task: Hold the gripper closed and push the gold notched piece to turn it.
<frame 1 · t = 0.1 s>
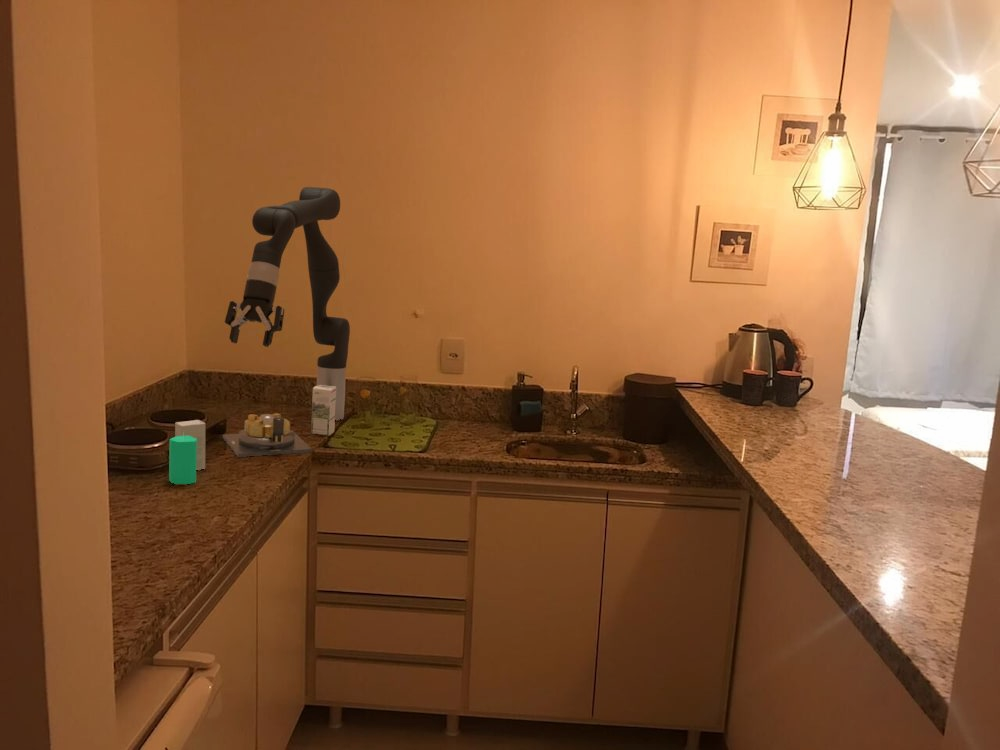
hand: (249, 344, 194), 31 cm above the worktop, tool tilted 20°, fingers open, 8 cm apart
gold notched piece: (270, 423, 214), point 7 cm above the worktop, hinge at 0.0°
syrup box: (322, 433, 236), on the worktop
bearing housing: (266, 445, 218), on the worktop
skincare box: (189, 470, 192), on the worktop
candle: (182, 482, 183), on the worktop
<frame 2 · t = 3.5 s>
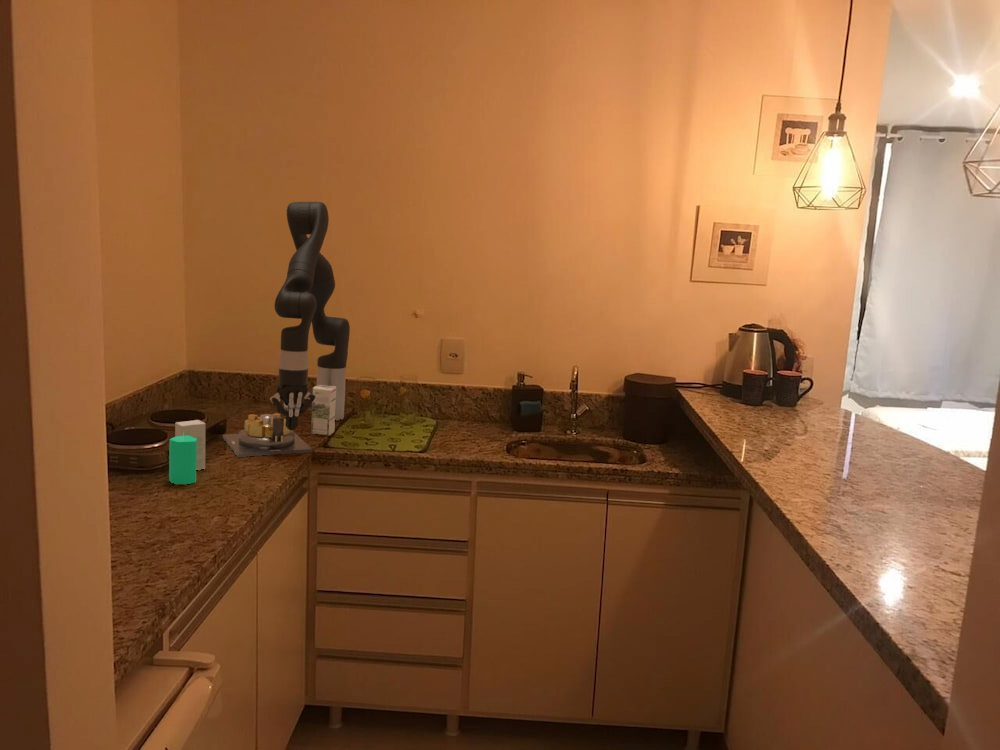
hand: (291, 429, 210), 7 cm above the worktop, tool pointing down, fingers closed
gold notched piece: (270, 423, 214), point 7 cm above the worktop, hinge at -0.5°, touching gripper
everything else where it was.
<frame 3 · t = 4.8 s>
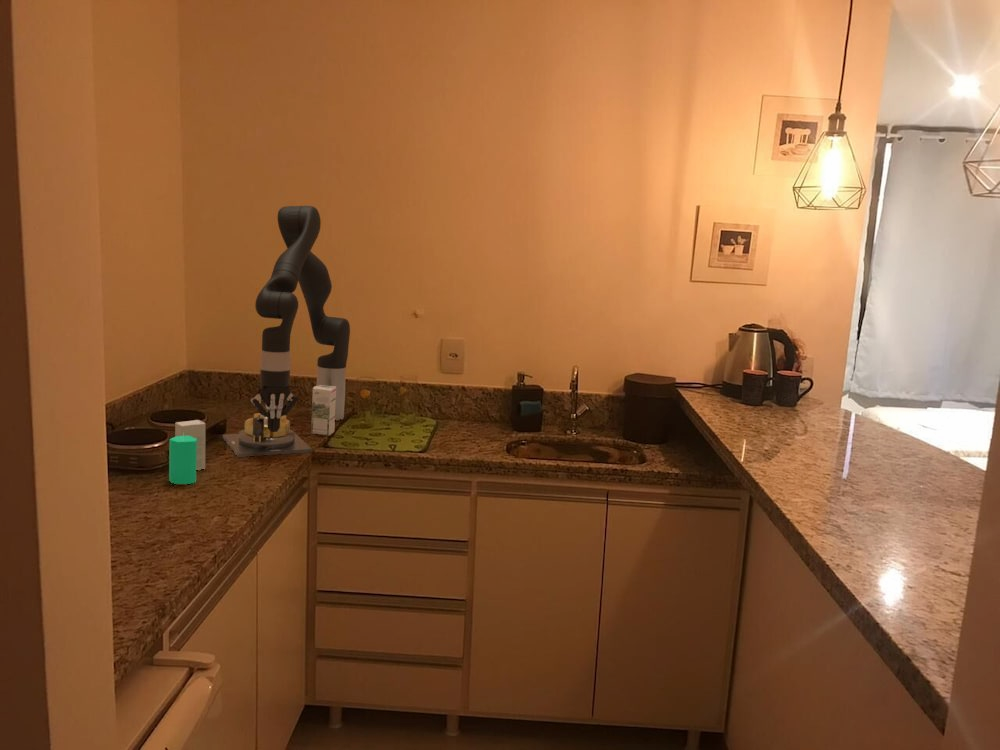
hand: (273, 431, 207), 7 cm above the worktop, tool pointing down, fingers closed
gold notched piece: (264, 423, 214), point 7 cm above the worktop, hinge at -25.8°, touching gripper
everything else where it was.
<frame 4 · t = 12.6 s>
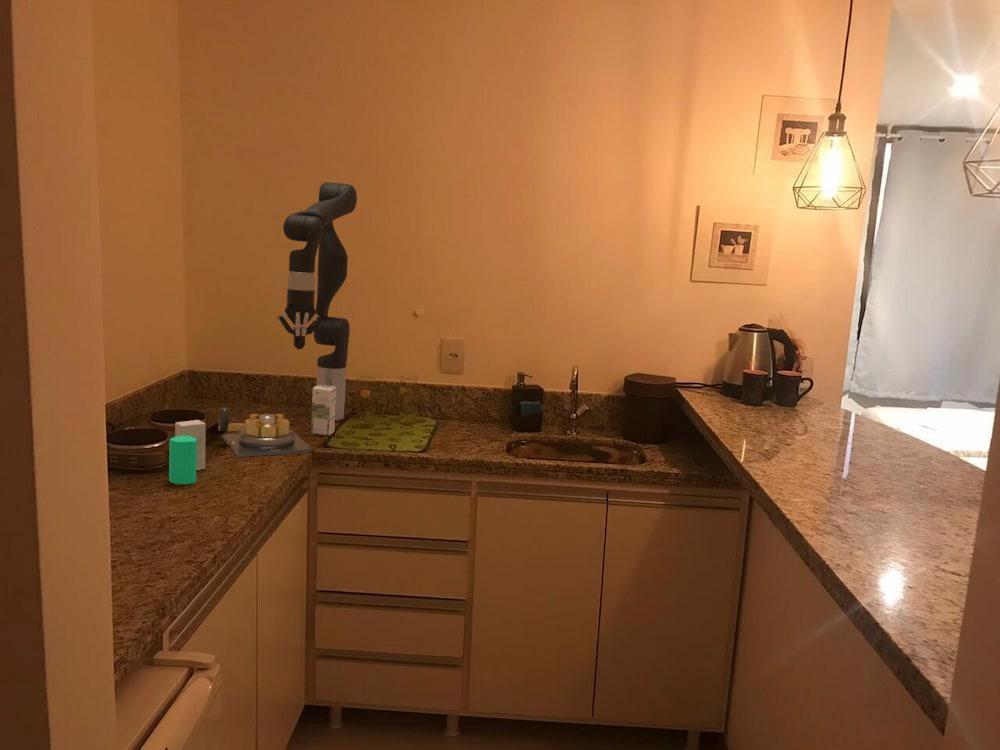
hand: (298, 348, 221), 27 cm above the worktop, tool pointing down, fingers closed
gold notched piece: (254, 420, 216), point 7 cm above the worktop, hinge at -100.8°
everything else where it was.
at the end: gold notched piece at -101° (first picture: +0°); the gripper is holding nothing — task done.
